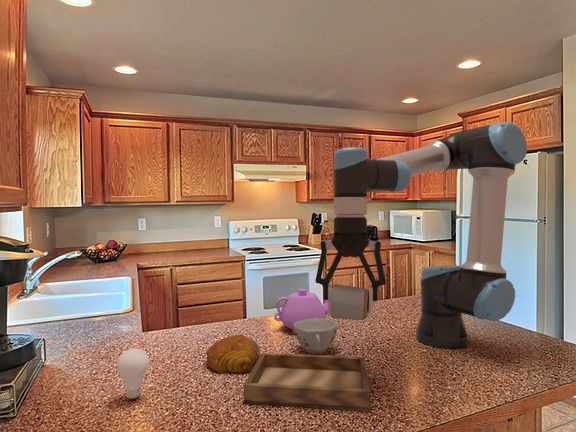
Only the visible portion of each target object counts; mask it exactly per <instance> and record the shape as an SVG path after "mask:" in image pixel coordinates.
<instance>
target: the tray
mask: <svg viewBox="0 0 576 432" xmlns="http://www.w3.org/2000/svg"><path fill="white" fill-rule="evenodd" d="M368 377H369V376H368V370H367V364H366V356H349V355H348V356H346V355H345V356H344V355H326V354H325V355H323V354H322V355H321V354H301V353H300V354H299V353H298V354H296V353H278V352H277V353H275V352H274V353H271V352H270V353H269V352H261V353H260V357H259V359H258V361H257V362H256V364H255V366H254V368H253V369H252V370H251V371H250V373H249V375H248V377H247V378H246V379H245V382H244V384H243V404H244V405H260V406H275V407H291V408H292V407H295V408H308V409H309V408H310V409H322V410H323V409H324V410H325V409H326V410H338V411H339V410H343V411H358V412H359V411H360V412H370V411H371V399H370V398H371V394H370V391H371V390H370V385H369V379H368Z"/></svg>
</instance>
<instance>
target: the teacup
mask: <svg viewBox="0 0 576 432" xmlns="http://www.w3.org/2000/svg"><path fill="white" fill-rule="evenodd" d="M294 329H295V334H294V335H295V337H296V340H297V341H298V342H299V344H300V345H301V347H302V348H303V349H304V350H305V351H306V352H307V353H309V354H312V355H321V354H323V353H325V352H326V351H327V350H328V349H329V348H330V347H331V345H332V344H333V342H334V340H335V338H336V334H337V330H338V324H337V322H336V321H335V320H333V319H329V318H327V317H326V318H324V319H323V318H309V319H304V320H301V321H297V322H295V323H294Z"/></svg>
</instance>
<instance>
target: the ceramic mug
mask: <svg viewBox="0 0 576 432" xmlns="http://www.w3.org/2000/svg"><path fill="white" fill-rule="evenodd" d="M368 295H369V292H368V289H366V288H364V287H360V286H359V287H358V286H352V285H351V286H349V285H342V284H337V283H336V284H334V285H333V286H332V295H331V315H330V317H331V318H332V319H341V320H353V321H354V320H355V321H364V320H365V321H366V319H367V318H368V316H369V314H368Z"/></svg>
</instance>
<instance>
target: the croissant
mask: <svg viewBox="0 0 576 432" xmlns="http://www.w3.org/2000/svg"><path fill="white" fill-rule="evenodd" d="M260 352H261V351H260V347H259V344H257V343H256V341H255V340H254V339H252V338H251V337H248V336H246V335H243V334H233V335H230V336H226V337H224V338H221V339H219V340H218V341H216V342H214V343H213V344H211V346H210V347H209V348H207V350H206V352H205V355H206V361H207V366H209V367H210V369H211V370H213V371H216V372H218V373H219V374H221V373H222V374H228V373H229V372H230V373H233V374H235V373H247V372H251V371H252V369H253V368H254V366H255V364H256V362H257V361H258V359H259V357H260V355H261V353H260Z"/></svg>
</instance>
